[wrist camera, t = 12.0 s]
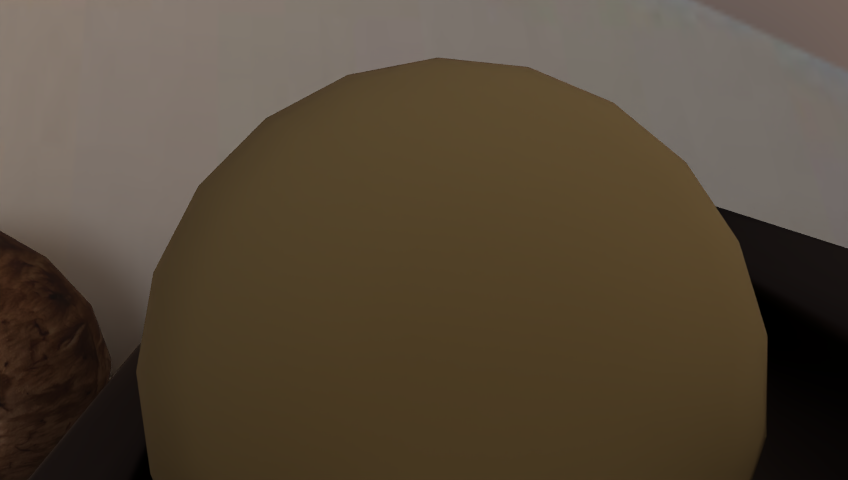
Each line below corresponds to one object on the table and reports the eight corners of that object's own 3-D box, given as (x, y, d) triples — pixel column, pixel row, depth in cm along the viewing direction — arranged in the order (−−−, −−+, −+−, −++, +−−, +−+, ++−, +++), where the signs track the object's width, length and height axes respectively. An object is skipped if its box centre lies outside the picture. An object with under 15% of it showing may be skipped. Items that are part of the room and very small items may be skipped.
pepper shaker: (254, 283, 15) (-112, 92, 5) (499, 191, 16) (689, -175, 5) (344, 546, 14) (152, 1091, 4) (602, 439, 15) (1111, 639, 4)
